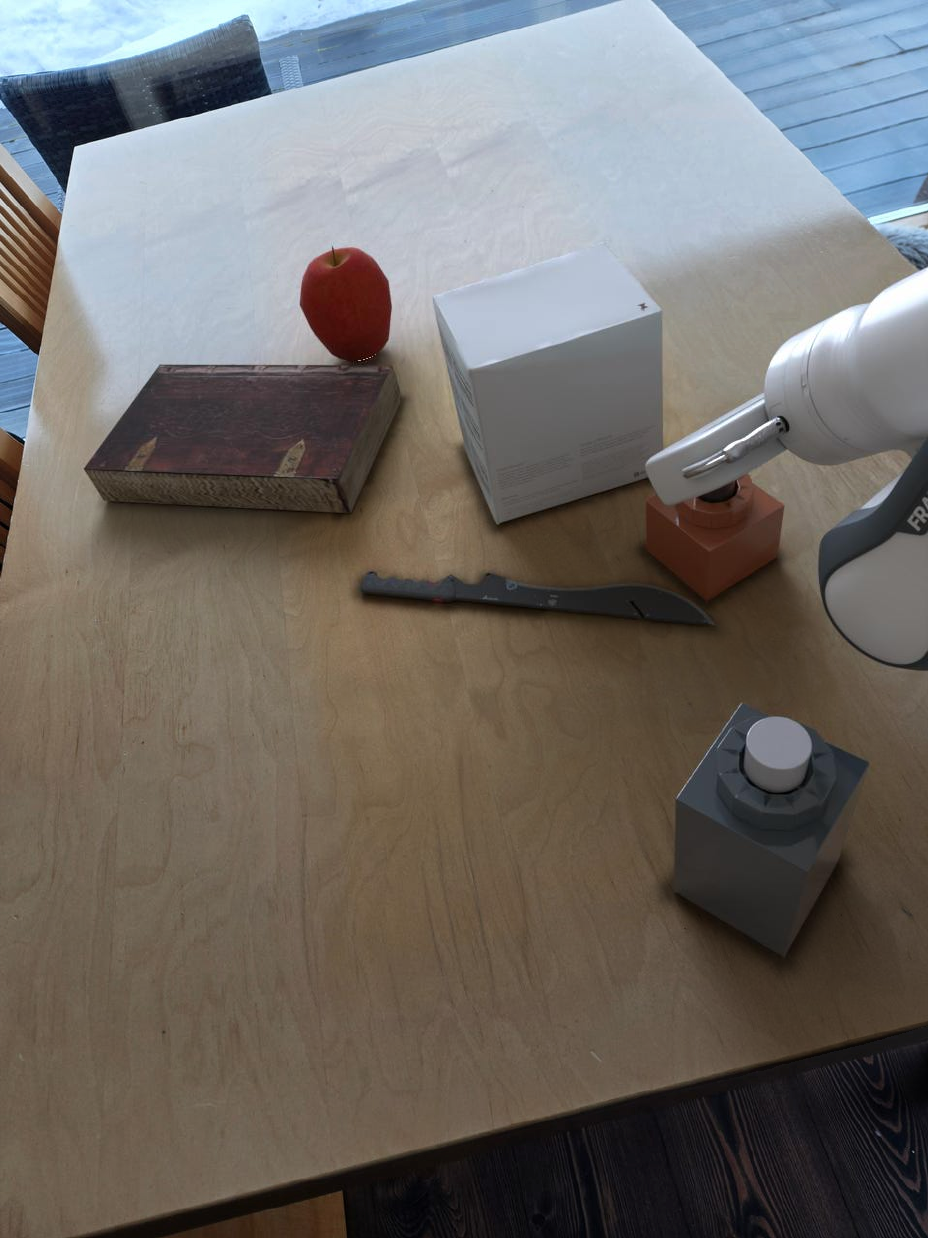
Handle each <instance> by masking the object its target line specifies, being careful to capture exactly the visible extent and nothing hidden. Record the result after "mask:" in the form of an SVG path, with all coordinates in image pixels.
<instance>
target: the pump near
mask: <svg viewBox="0 0 928 1238" xmlns="http://www.w3.org/2000/svg"><path fill="white" fill-rule="evenodd" d="M784 717H785V716H779V717H768V718H764V719H762V720H760V721H758V722H757V723H755V724H754V725H753V726H752V727H751V728H750V730H749V732H748V734H747V738H746V746H745V754H744V770H745V773H746V775H747V776H748V778H749V779H750V780H751V782H753V783H754V784H755V785H756V786H757V787H759V788H761V789H763V790H766V791H769V792H775V793H782V792H788V791H791V790H793V789H795V788H797V787H798V786H799V785H800V784H801V783H802V782H803V781H804V779H805V777H806V774H807V769H808V765H809V761H810V756H811V752H812V741H811V738H810V736H809V734H808V733H807V731H806V730H805V729H804V728H803V727H802V726H801V725H800V724H798V723H797V722H798V721H797V722H795V721H796V720H795V721H793V720H794V719H793V720H791V719H792V718H791V719H788V718H784Z"/></svg>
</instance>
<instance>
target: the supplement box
mask: <svg viewBox="0 0 928 1238" xmlns="http://www.w3.org/2000/svg"><path fill="white" fill-rule="evenodd" d="M432 304H433V305H432V306H433V310H434V314H435V319H436V324H437V328H438V329H437V330H438V333H439V339H440V342H441V347H442V351H443V356H444V360H445V365H446V369H447V375H448V377H449V382H450V387H451V391H452V397H453V401H454V405H455V409H456V413H457V414H456V415H457V418H458V423H459V428H460V432H461V435H462V441H463V446H464V451H465V453H466V456H467V458H468V461H469V463H470V465H471V467H472V470H473V473H474V475H475V478H476V480H477V482H478V484H479V487H480V490H481V491H482V494H483V496H484V498H485V501H486V504H487V505H488V508H489V510H490V513H491V515H492V517H493V520H494V522H495V524H496V525H500V524H501V523H504V522H508V521H511V520H514V519H517V518H521V517H524V516H528V515H531V514H534V513H537V512H540V511H543V510H547V509H550V508H554V507H557V506H560V505H563V504H567V503H570V502H574V501H577V500H579V499H583V498H587V497H589V496H592V495H595V494H599V493H602V492H605V491H609V490H613V489H615V488H618V487H622V486H625V485H629V484H631V483H635V482H639V481H641V480H644V479H649V477H648V475H647V472H646V469H645V465H646V462H647V461H648V460H649V459H650V458H651V457H652V456H654V455H655V454H657V453H659V452H660V451H662V450H664V407H663V406H664V402H663V401H664V400H663V399H664V397H663V393H664V391H663V388H664V386H663V385H664V384H663V382H664V381H663V309H661V307H660V305H658V304H657V303H656V302H655V301H654V299H652V297H651V296H650V295H649V293H648V292H647V291H646V290H645V288H644V287H643V286H642V284H641V283H640V282H639V281H638V279H637V278H636V277H635V276H634V275H633V274H632V273H631V271H630V270H629V269H628V267H627V266H626V265H625V264H624V263H623V262H622V260H621V259H620V258H619V257H618V256H617V254H615V252H614V251H613V250H612V249H611V247H610V246H609V245H608V244H607V243H606V241H601V242H599V243H596V244H593V245H590V246H586V247H584V248H581V249H578V250H574V251H571V252H569V253H566V254H563V255H559V256H556V257H553V258H550V259H546V260H544V261H540V262H537V263H534V264H531V265H527V266H524V267H521V268H517V269H515V270H512V271H509V272H506V273H503V274H499V275H496V276H493V277H489V278H486V279H482V280H480V281H477V282H474V283H470V284H467V285H463V286H460V287H457V288H454V289H451V290H449V291H444V292H441V293H438V294H434V295H432Z"/></svg>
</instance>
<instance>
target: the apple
mask: <svg viewBox="0 0 928 1238" xmlns="http://www.w3.org/2000/svg"><path fill="white" fill-rule="evenodd" d="M390 289H391V287H390V281H389V279H388V278H387V276H386V274H385V273H384V271H383V269H381V267H380V265H379V263H378V262H377V261H376V260H375V258H374V257H373V256H372V255H370V254H368V253H367V252H365V251H363V250H362V249H361V248H358V247H353V246H351V247H350V246H349V247H340V248H334V246H333V245H331V249H330V250H328V251H327V252H324V253H322V254H320V255H318V256H316V257H315V258H314V259H312V261H310V262H309V264H308V265H307V267H306V269H305V271H304V273H303V275H302V279H301V285H300V293H299V294H300V295H299V307H300V309H301V312H302V314H303V315H304V317H305V320H306V322H307V324H308V326H309V328H310V330H311V331H312V332H313V334H314V336H315V337H316V338H317V339H318V340H319V342H320V343H321V344H322V345H323V346H324V347H325V349H326V350H327V351H328V352H329V353H330V355H331V356H333V357H335V358H337V359H339V360H341V361H344V360H346V361H345V362H348V363H350V364H364V363H367V362H370V361H372V360H374V359H375V358H376V357H377V356H378V355H379V354H380V353H381V352H382V351H383V349H384V348H385V346H386V345H387V343H388V342H389V338H390V329H391V320H392V311H393V304H392V297H391V290H390ZM375 354H376V355H375ZM372 356H373V357H372ZM369 357H371V358H369ZM366 358H368V359H366ZM363 359H365V360H363ZM358 360H361V361H358Z"/></svg>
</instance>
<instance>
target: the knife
mask: <svg viewBox="0 0 928 1238" xmlns="http://www.w3.org/2000/svg"><path fill="white" fill-rule="evenodd" d="M359 590H360V592H361V593H363V594H368V595H379V596H387V597H398V598H407V599H417V600H426V601H433V602H439V603H440V602H441V603H443V602H446V603H451V602H453V601H464V602H473V603H483V604H492V605H503V606H512V607H514V606H515V607H522V608H531V609H532V608H533V609H541V610H553V611H561V612H572V613H580V614H590V615H591V614H592V615H601V616H611V617H618V618H619V617H620V618H630V619H638V620H639V619H641V615H642V617H643V618H644V619H645V620H651V621H658V622H659V621H661V622H670V623H680V624H690V625H699V626H710V627H711V626H716V624H715V623H714V621H713V620H712V619H711V617H710V616H708V614H707V613H706V612H705V611H704V610H702V609H701V608H700V607H699V606H697V604H695V603H694V602H692V601H691V600H690V599H688V598H686V597H684V596H682V595H680V594H678V593H676V592H674V591H671V590H669V589H666V588H663V587H660V586H656V585H651V584H646V583H645V584H644V583H628V582H627V583H617V584H608V585H601V586H592V587H553V586H552V587H551V586H542V585H541V586H540V585H533V584H527V583H522V582H518V581H515V580H510V579H507V578H506V577H504V576H500V575H497V574H494V573H491V572H486V573H485V574H484V576H483V578H482V579H481V580H480V581H479V582H476V583H470V584H469V583H464V581H462V580H460V579H459V578H458V577H457V576H455V575H453V574H451V573H450V574H449V575H447V576H446V577H445V578H443V579H442V580H440V581H439V580H438V581H435V582H433V581H432V582H431V581H429V580H428V579H422V580H418V581H416V580H415V581H414V580H413V579H410V578H404V579H397V578H395V577H394V576H389V577H386V578H381V577H380V576H378V571H374V570H369V571H367V572H366V573H365V574H364V576H363V579H362V581H361V582H360V585H359ZM632 603H633V604H632ZM633 605H634V606H635V608H634V606H633ZM636 608H637V610H638V611H639V612H640V614H641V615H640V614H639V612H638V611H637V610H636Z"/></svg>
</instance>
